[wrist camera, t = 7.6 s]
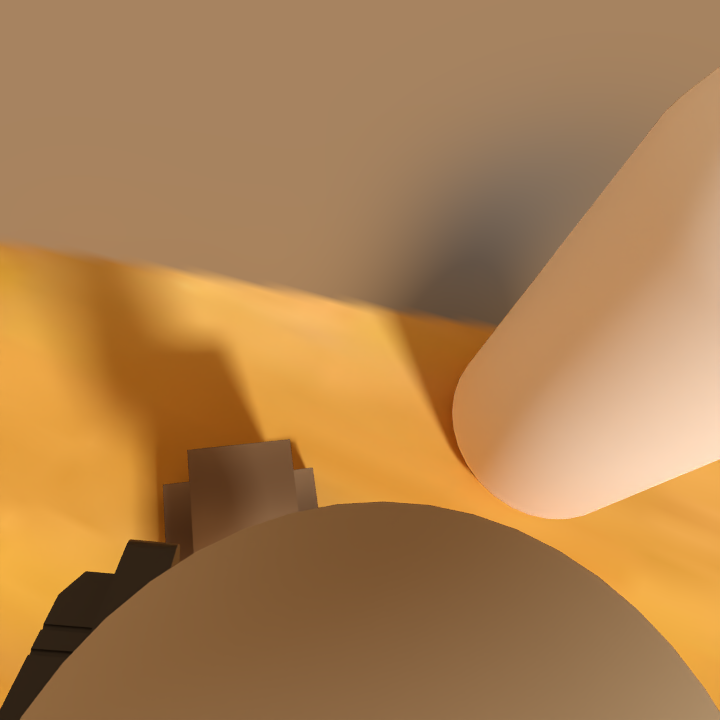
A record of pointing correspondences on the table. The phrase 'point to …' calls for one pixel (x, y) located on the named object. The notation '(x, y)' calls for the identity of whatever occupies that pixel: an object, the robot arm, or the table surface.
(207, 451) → the brown block
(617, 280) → the alcohol
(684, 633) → the table surface
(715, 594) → the table surface
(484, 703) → the dowel
